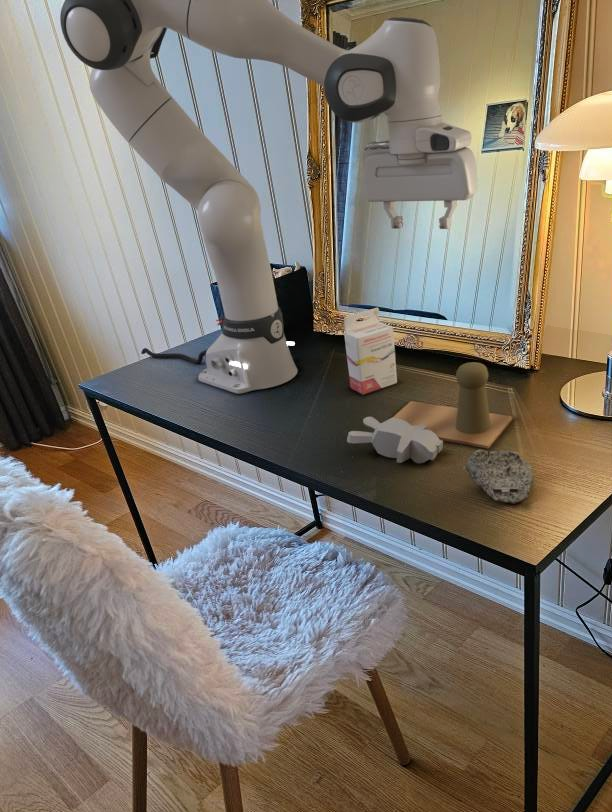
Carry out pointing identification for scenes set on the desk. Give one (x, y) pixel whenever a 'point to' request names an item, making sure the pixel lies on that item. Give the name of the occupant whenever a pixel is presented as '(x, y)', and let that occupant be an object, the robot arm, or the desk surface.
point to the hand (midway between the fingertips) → (420, 228)
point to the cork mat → (451, 423)
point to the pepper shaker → (472, 399)
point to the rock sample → (501, 474)
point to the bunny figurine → (399, 440)
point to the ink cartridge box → (369, 352)
